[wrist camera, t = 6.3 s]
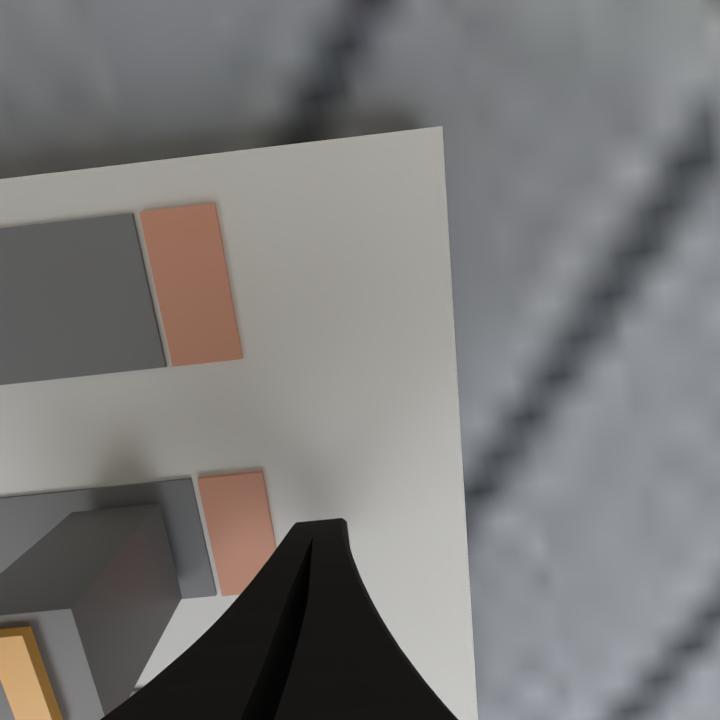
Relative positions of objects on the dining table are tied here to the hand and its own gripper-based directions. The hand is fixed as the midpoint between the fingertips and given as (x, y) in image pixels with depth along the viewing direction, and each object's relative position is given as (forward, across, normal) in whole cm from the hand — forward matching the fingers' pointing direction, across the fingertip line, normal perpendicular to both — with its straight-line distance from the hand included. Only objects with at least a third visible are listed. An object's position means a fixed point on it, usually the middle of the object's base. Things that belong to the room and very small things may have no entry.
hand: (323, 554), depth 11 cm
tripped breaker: (+1, +6, 0) cm, 6 cm away
